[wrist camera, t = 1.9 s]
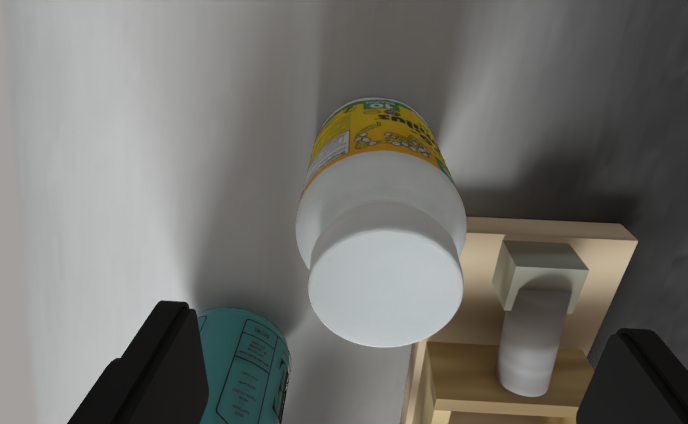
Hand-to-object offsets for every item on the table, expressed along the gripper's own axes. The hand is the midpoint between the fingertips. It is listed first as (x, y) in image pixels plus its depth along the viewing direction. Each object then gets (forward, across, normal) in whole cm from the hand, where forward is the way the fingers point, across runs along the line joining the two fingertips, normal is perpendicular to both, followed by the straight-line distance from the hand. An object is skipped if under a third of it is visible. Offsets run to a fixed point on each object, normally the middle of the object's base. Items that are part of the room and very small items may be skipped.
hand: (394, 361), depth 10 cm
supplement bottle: (+11, 0, -1) cm, 11 cm away
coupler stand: (+12, -7, +13) cm, 19 cm away
